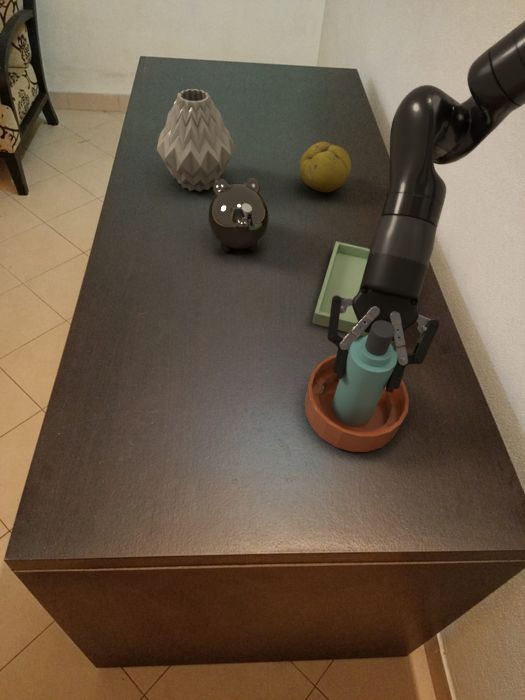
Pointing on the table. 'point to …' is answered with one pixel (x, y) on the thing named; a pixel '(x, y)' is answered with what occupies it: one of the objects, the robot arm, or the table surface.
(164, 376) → the table surface
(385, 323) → the bottle
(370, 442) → the bowl
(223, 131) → the vase
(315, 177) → the fruit
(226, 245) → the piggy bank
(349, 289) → the tray
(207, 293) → the table surface
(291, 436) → the table surface
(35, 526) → the table surface
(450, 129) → the robot arm
